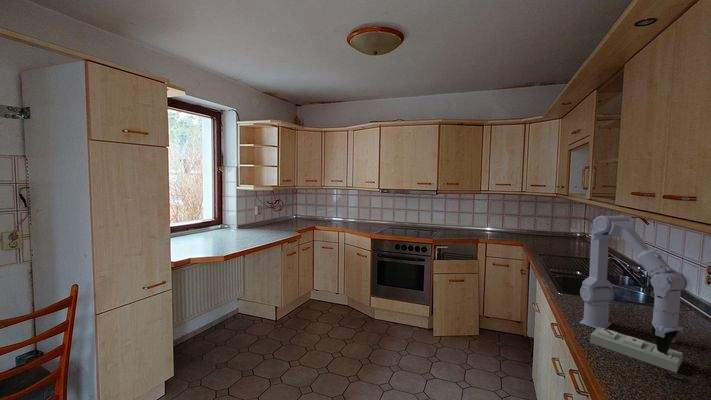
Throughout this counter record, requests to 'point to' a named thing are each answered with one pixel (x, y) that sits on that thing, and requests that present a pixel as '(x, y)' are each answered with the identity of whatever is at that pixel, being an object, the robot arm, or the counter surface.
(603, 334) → the tile three pips
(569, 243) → the counter surface
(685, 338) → the counter surface
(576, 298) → the counter surface
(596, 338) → the button board
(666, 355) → the tile two pips
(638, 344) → the tile one pip
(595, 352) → the counter surface
